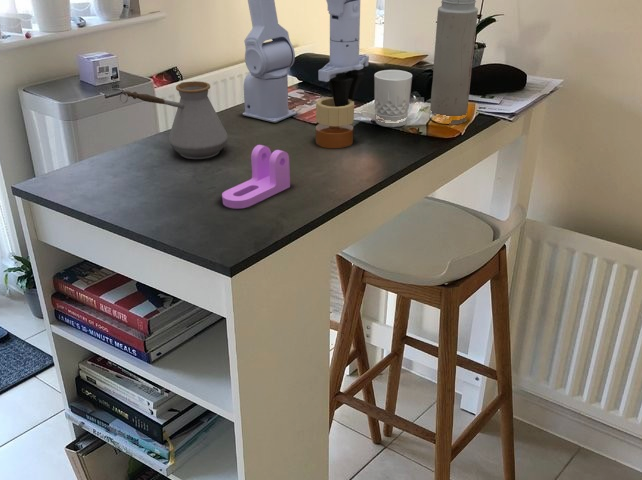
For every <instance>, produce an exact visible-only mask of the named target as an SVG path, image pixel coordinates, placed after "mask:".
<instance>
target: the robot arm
mask: <svg viewBox="0 0 642 480" xmlns="http://www.w3.org/2000/svg"><path fill="white" fill-rule="evenodd" d="M325 2H326V4H327V11H328V14H329V61H328V63H326V64H325V65H324V66H323V67H322V68H320V69H318V81H320V82H324V83H326V84H327V86H328V88H329V90H330V93H331V94H332V97H333V99H334V103H335V106H339V107H340V106H346V105H348V99H350V100H352V101H353V102H355V97H356V93H357V92H358V88H359V85H360V84H361V81H362V80H363V78H364V71H361V70H362V69H364V67H365V68H367V67H369V58H370V56H369V55H367V54H360V37H361V36H360V35H361V31H360V30H361V0H325ZM247 4H248V10H249V15H250V21H251V26H252V28H251V30H250V31H249V33H248V34H247V35H246V37H245V38H244V47H245V52H244V62H245V66H246V68H247V70H248V71H249V72H248V73H246V75H245V77H244V80H243V101H244V102H243V103H244V112H242V116H244V117H249V118H253V119H257V120H262V121H266V122H269V123H274V124H275V123H278V122H280V121H283V120H286V119H287V118H290V117H292V116H295V115H296V114H298V111H296V110H293V109H289V84H288V83H289V82H288V81H289V79H288V74H289V73H291V67H293V66H294V63H295V60H296V51H295V48H294V46H293V44H292V42H291V40H290V35H289V31H288V30H287V29H286V28H284V27H283V26H282V25H281V24H280V23H279V20H278V14H277V8H276V2H275V0H247Z"/></svg>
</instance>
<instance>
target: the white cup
mask: <svg viewBox="0 0 642 480" xmlns="http://www.w3.org/2000/svg"><path fill="white" fill-rule="evenodd" d="M373 78H374V79H373V81H374V82H373V83H374V85H373V86H374V87H373V88H374V90H373V91H374V111H375V116H376V115H377V116H379V117H380V118H383V119H384V120H391V121H397V120H401V119H404V118H406V117H407V119H406V120H405V121H403V122H399V123H385V122H381V121H378V120H377V119H376V118H375V119H374V120H375V124H377V125H378V126H381V127H386V128H398V127H403V126H405V125H406V124H407V122H408V115H409V114H408V113H409V109H410V100H411V92H412V83H413V82H412V81H413V74H412V73H411V72H408V71H406V70H400V69H384V70H379V71H377V72H375V73H374V76H373Z"/></svg>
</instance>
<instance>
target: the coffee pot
mask: <svg viewBox="0 0 642 480" xmlns="http://www.w3.org/2000/svg"><path fill="white" fill-rule="evenodd" d="M210 88H211V84H210V83H208V82H206V81H199V80H198V81H197V80H196V81H183V82H180V83H178V84H177V85H176V86H175V90H176V91H177V92H178V93H179V96H180V98H179V101H173V100H168V99H164V98H161V97H157V96H154V95H151V94H147V93H138V92H137V91H133V92H131V91H128V90H125V91H123V92H121V93H120V95H119V102H120V103H122V104H126V103H127V102H128V100H129V97H132V99H133V100H136V99H138V100H141V101H143V102H147V103H152V104H153V103H154V104H160V105H166V106H170V107H174V108H176V111H175V116H174V119H173V122H172V126H171V129H170V132H169V136H168V143H169V145H170V147H171V148H172V149H173V151H175V152H176V153H178V154H179V155H180V156H181V157H183V158H185V159H191V160H204V159H210V158H213V157H216V156H217V155H218V154H219V153H220V151H222V150H223V148H225V146H226V145H227V143H228V141H229V139H228V138H229V137H228V133H227V131H226V129H225V127H224V125H223V124H222V121H221V119H220V118H219V116H218V114H217V112H216V110H215V108H214V106H213V104H212V102H211V100H210V98H209V96H208V95H209V90H210ZM123 95H124V96H125V97H126V100H125V101H122V96H123Z"/></svg>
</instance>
